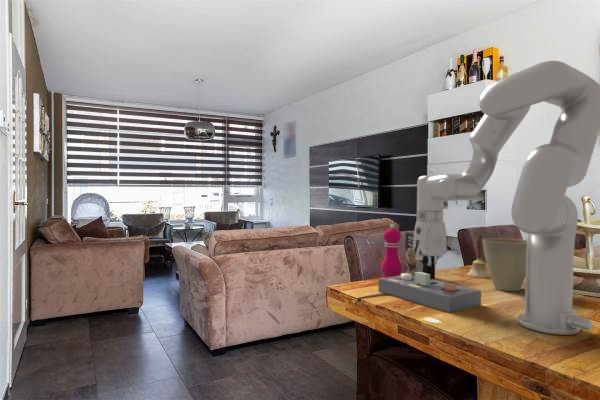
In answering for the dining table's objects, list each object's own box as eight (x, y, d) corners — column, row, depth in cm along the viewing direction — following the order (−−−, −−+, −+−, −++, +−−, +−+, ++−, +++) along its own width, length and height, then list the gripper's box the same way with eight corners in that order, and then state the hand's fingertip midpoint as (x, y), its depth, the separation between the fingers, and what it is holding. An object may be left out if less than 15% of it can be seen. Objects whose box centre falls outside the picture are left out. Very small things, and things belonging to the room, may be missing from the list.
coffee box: (404, 274, 153) (404, 232, 153) (418, 273, 155) (419, 231, 155) (417, 279, 144) (418, 234, 144) (433, 278, 146) (433, 234, 146)
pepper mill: (402, 283, 138) (403, 225, 137) (381, 282, 139) (381, 224, 139) (401, 278, 145) (402, 223, 144) (381, 277, 146) (381, 223, 146)
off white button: (413, 281, 125) (413, 274, 125) (406, 282, 124) (406, 275, 124) (405, 279, 128) (405, 273, 128) (398, 280, 126) (398, 274, 126)
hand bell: (495, 278, 148) (496, 235, 147) (472, 278, 148) (473, 235, 147) (484, 273, 156) (485, 233, 156) (463, 273, 156) (464, 232, 156)
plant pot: (530, 286, 135) (531, 239, 135) (535, 296, 122) (536, 244, 121) (481, 282, 141) (482, 236, 141) (481, 291, 128) (482, 241, 128)
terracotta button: (458, 292, 112) (458, 285, 112) (451, 294, 110) (451, 286, 110) (448, 290, 115) (448, 282, 115) (441, 291, 113) (441, 284, 113)
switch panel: (480, 304, 112) (481, 289, 112) (448, 312, 105) (449, 296, 104) (409, 286, 134) (409, 273, 134) (378, 291, 126) (378, 277, 126)
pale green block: (429, 295, 117) (430, 274, 117) (425, 296, 116) (425, 274, 116) (419, 292, 120) (419, 271, 120) (414, 293, 119) (414, 272, 119)
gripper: (422, 218, 112) (421, 283, 112) (456, 217, 120) (455, 278, 120) (402, 216, 118) (401, 278, 119) (436, 215, 126) (435, 273, 127)
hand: (428, 278), depth 120 cm, fingers closed
